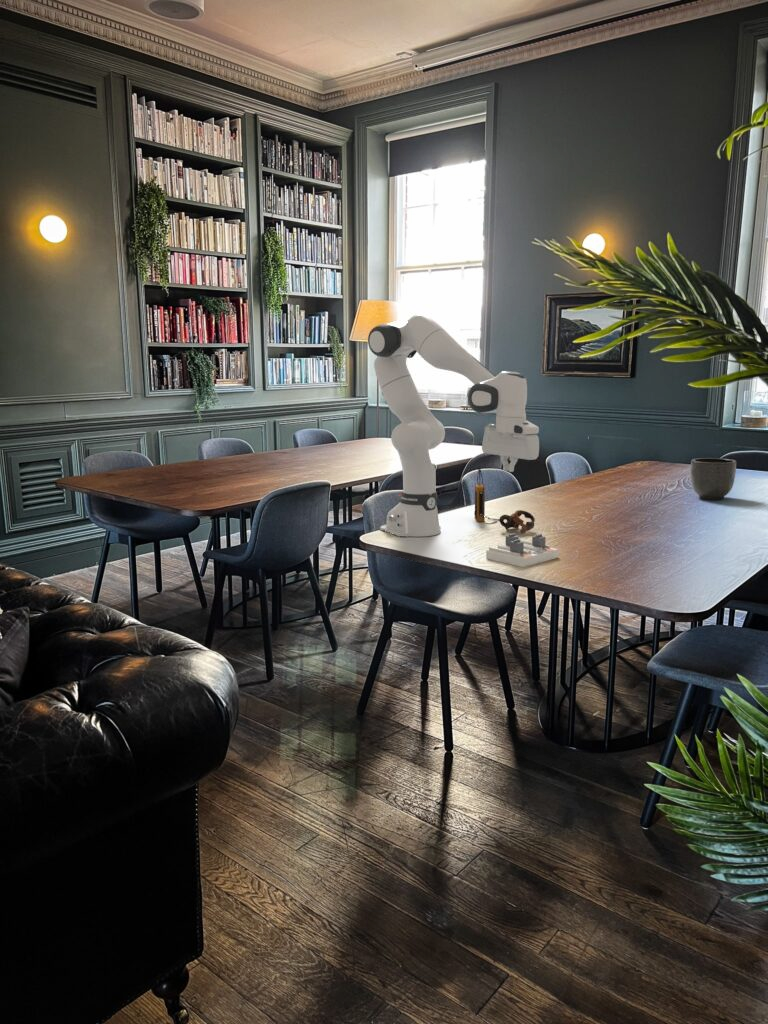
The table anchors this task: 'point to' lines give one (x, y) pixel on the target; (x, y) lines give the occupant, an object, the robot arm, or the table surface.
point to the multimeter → (480, 501)
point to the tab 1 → (516, 546)
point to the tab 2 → (538, 541)
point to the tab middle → (511, 538)
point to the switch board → (527, 558)
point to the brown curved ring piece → (517, 521)
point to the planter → (712, 477)
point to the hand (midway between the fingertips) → (508, 471)
